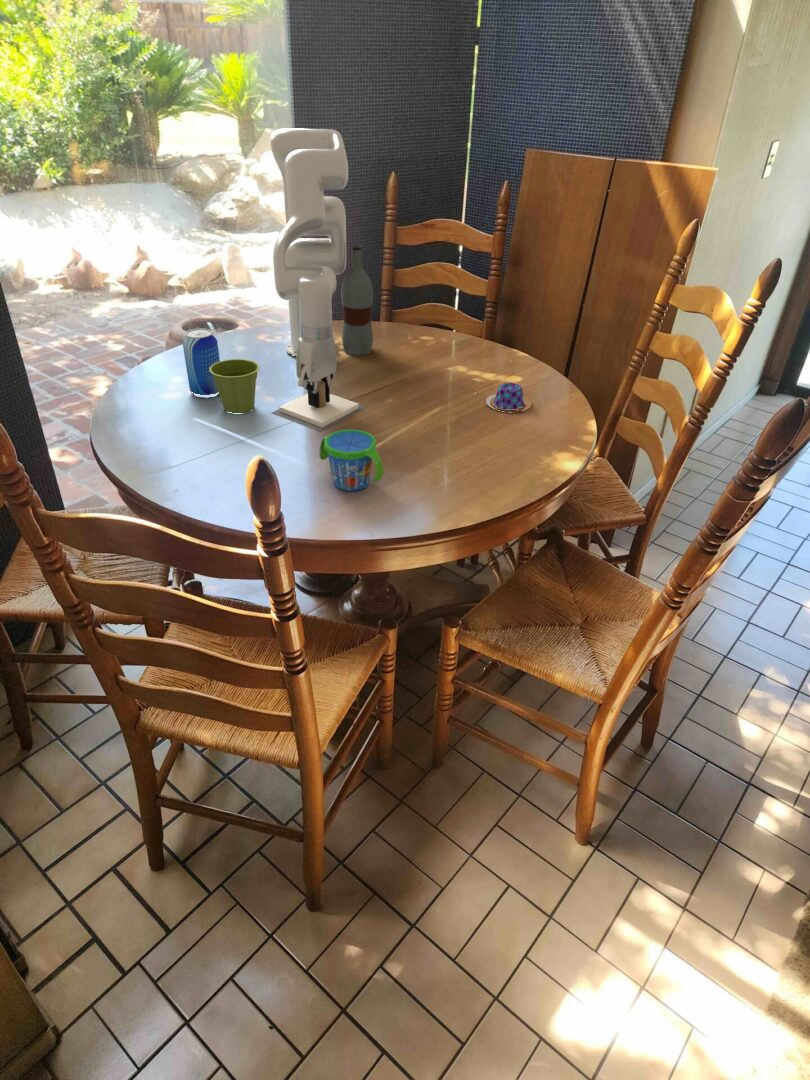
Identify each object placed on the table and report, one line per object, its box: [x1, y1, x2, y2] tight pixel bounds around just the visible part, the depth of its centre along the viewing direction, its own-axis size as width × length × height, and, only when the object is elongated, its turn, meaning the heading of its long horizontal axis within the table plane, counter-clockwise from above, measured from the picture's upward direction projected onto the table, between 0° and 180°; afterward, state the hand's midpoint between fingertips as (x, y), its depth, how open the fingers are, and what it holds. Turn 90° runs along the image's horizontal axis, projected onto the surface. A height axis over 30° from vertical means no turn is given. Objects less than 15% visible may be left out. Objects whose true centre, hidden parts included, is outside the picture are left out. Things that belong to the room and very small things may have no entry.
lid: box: [278, 380, 360, 427], centre depth 174 cm, size 14×14×7 cm
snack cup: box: [318, 429, 384, 492], centre depth 146 cm, size 16×10×10 cm
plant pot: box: [209, 358, 261, 414], centre depth 172 cm, size 12×12×11 cm
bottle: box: [340, 244, 374, 357], centre depth 202 cm, size 9×9×30 cm
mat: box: [271, 403, 368, 432], centre depth 176 cm, size 18×16×1 cm
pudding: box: [485, 382, 524, 414], centre depth 182 cm, size 12×12×5 cm
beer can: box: [182, 327, 221, 395], centre depth 179 cm, size 8×8×16 cm
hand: (319, 402), depth 175 cm, fingers closed on lid, 3 cm apart
